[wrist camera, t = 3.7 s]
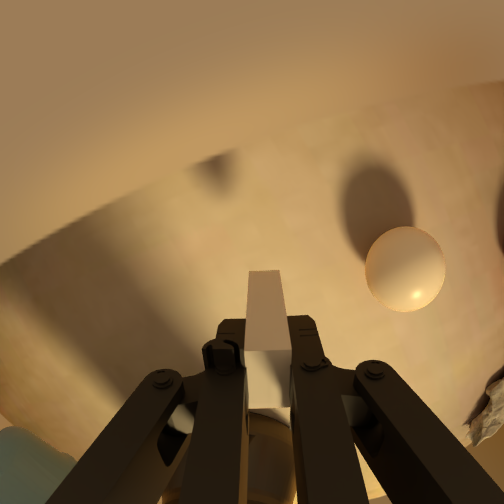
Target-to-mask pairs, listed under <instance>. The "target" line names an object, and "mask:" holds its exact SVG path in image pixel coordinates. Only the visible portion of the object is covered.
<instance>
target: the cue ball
mask: <svg viewBox="0 0 504 504" xmlns="http://www.w3.org/2000/svg"><path fill="white" fill-rule="evenodd" d="M445 270H446V267H445V259H444V255H443V252H442V250H441V248H440V246H439V245H438V243H437V242H436V241H435V239H434V238H433V237H432V236H430V235H429V234H428V233H426V232H425V231H423V230H421V229H418V228H415V227H408V226H403V227H397V228H393V229H391V230H388V231H387V232H385V233H384V234H382V235H381V236H380V237H379V238H378V239H377V240H376V241H375V242H374V243H373V245H372V246H371V248H370V250H369V252H368V255H367V258H366V263H365V276H366V281H367V284H368V287H369V289H370V291H371V293H372V294H373V296H374V297H375V298H376V299H377V300H378V301H379V302H380V303H381V304H382V305H384V306H385V307H387V308H389V309H392V310H395V311H401V312H409V311H414V310H418V309H420V308H422V307H424V306H426V305H427V304H429V303H430V302H431V301H432V300H433V299H434V298H435V297H436V296H437V294H438V293H439V291H440V289H441V287H442V285H443V282H444V278H445Z"/></svg>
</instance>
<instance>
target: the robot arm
mask: <svg viewBox="0 0 504 504" xmlns="http://www.w3.org/2000/svg"><path fill="white" fill-rule="evenodd" d="M202 354H203V360H204V366H205V371H203V372H201V373H199V374H197V375H193V376H189V377H184V378H182V377H181V375H180V374H179V373H178V372H177V371H174V370H171V369H161V370H156V371H154V372H151V373H150V374H149V375H147V376H146V377H145V378H144V380H143V381H142V382H141V383H140V385H139V386H138V387H137V388H136V390H135V391H134V392H133V393H132V395H131V396H130V397H129V398H128V400H127V401H126V402H125V403H124V405H123V406H122V407H121V408H120V410H119V411H118V412H117V413H116V415H115V416H114V417H113V418H112V420H111V421H110V422H109V423H108V425H107V426H106V427H105V428H104V430H103V431H102V432H101V433H100V435H99V436H98V437H97V438H96V440H95V441H94V442H93V443H92V445H91V446H90V447H89V448H88V450H87V451H86V452H85V453H84V455H83V456H82V457H81V458H80V460H79V461H76V460H75V458H73V457H72V456H70V455H69V454H66V453H63V452H60V451H58V450H57V449H55V448H54V447H52V446H51V445H49V444H48V443H46V442H45V441H43V440H42V439H40V438H39V437H38V436H36V435H35V434H34V433H32V432H31V431H29V430H27V429H25V428H22V427H17V426H11V427H6V428H4V429H2V430H1V431H0V504H157V503H158V501H159V499H160V497H161V496H162V504H293V501H294V497H295V494H296V490H297V501H298V504H369V500H368V496H367V492H366V488H365V484H364V480H363V476H362V472H361V468H360V464H359V460H358V456H357V452H356V448H355V444H356V446H357V448H358V449H359V451H360V453H361V454H362V456H363V457H364V459H365V461H366V462H367V464H368V465H369V467H370V469H371V470H372V472H373V474H374V475H375V477H376V478H377V480H378V482H379V483H380V485H381V486H382V488H383V490H384V491H385V493H386V494H387V496H388V498H389V499H390V501H391V502H392V504H504V492H503V491H502V490H501V489H500V488H499V486H498V485H497V484H496V483H495V482H494V481H493V480H492V478H491V477H490V476H489V475H488V474H487V472H485V470H484V469H483V468H482V467H481V466H480V464H479V463H478V462H477V461H476V460H475V459H474V458H473V456H472V455H471V454H470V453H469V452H468V451H467V450H466V449H465V447H464V446H463V445H462V444H461V443H460V442H459V441H458V439H457V438H456V437H455V436H454V435H453V434H452V433H451V432H450V431H449V429H448V428H447V427H446V426H445V425H444V424H443V423H442V422H441V421H440V419H439V418H438V417H437V416H436V415H435V414H434V413H433V412H432V411H431V409H430V408H429V407H428V406H427V405H426V404H425V403H424V402H423V401H422V400H421V398H420V397H419V396H418V395H417V394H416V393H415V392H414V391H413V390H412V389H411V388H410V386H409V385H408V384H407V383H406V382H405V381H404V380H403V379H402V378H401V377H400V376H399V375H398V373H397V372H396V371H395V370H394V369H393V368H392V367H391V366H390V365H388V364H387V363H385V362H382V361H379V360H368V361H364V362H362V363H360V364H359V365H358V366H357V367H356V370H349V369H342V368H338V367H336V366H333V365H332V363H331V362H330V360H329V359H328V358H327V357H325V355H324V351H323V348H322V344H321V341H320V337H319V334H318V331H317V327H316V324H315V321H314V320H313V319H312V318H311V317H310V316H309V315H299V316H287V315H286V309H285V303H284V296H283V290H282V284H281V278H280V272H279V270H272V271H249V280H248V296H247V312H246V319H224V320H223V321H222V322H221V323H220V324H219V325H218V329H217V334H216V339H213V340H210V341H209V342H207V343H206V344H204V346H203V348H202ZM283 407H291V410H290V428H288V427H287V426H285V425H284V424H282V423H280V422H278V421H276V420H274V419H271V418H269V417H266V416H263V415H259V414H255V413H250V412H249V411H248V409H256V408H283ZM354 443H355V444H354Z"/></svg>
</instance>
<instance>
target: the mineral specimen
mask: <svg viewBox="0 0 504 504" xmlns="http://www.w3.org/2000/svg"><path fill="white" fill-rule="evenodd" d="M486 394H487V395H489V396H490V401H489V403H488V405H487V406H486V407H485V409H484V410H483V411H482V413H480V414H479V415H478V416H477V417H476V418H475V419H474V420H472V424H471V425H470V431H469V432H468V433H467V435H466V438H469V439H470V440H471V441H472V443H473V447H476V446H477V445H478V444H480V443H481V442H482V441H483V440H484V439H485V438H488V437H491V436H492V435H493V434H494V433H496V432H497V430H498V429H499V428H500V427H501V426H502V424H503V423H504V377H503V378H502V379H500V380H497V381H496V382H493V383H492V384H491V385H490V386H489V387H487V388H486Z"/></svg>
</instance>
